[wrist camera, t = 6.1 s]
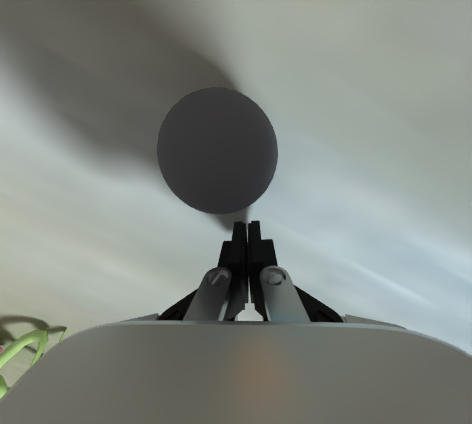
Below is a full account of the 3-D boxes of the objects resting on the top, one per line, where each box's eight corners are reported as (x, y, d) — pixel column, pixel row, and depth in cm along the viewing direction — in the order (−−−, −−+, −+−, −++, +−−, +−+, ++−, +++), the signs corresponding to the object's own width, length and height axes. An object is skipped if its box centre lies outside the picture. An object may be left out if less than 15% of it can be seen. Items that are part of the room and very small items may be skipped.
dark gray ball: (256, 248, 9) (256, 185, 13) (317, 135, 5) (289, 97, 9) (141, 223, 8) (180, 166, 12) (112, 76, 4) (181, 65, 8)
